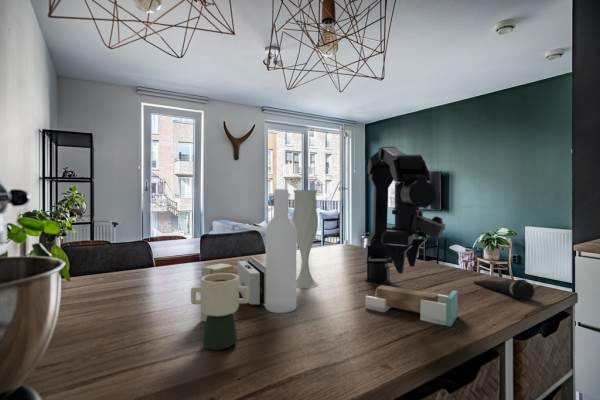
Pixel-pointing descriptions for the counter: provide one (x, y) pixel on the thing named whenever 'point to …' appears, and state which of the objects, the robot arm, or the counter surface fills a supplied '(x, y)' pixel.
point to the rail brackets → (426, 308)
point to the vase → (305, 232)
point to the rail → (404, 297)
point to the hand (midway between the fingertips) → (406, 269)
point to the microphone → (510, 288)
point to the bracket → (253, 280)
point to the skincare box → (215, 270)
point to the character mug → (219, 308)
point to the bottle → (280, 257)
